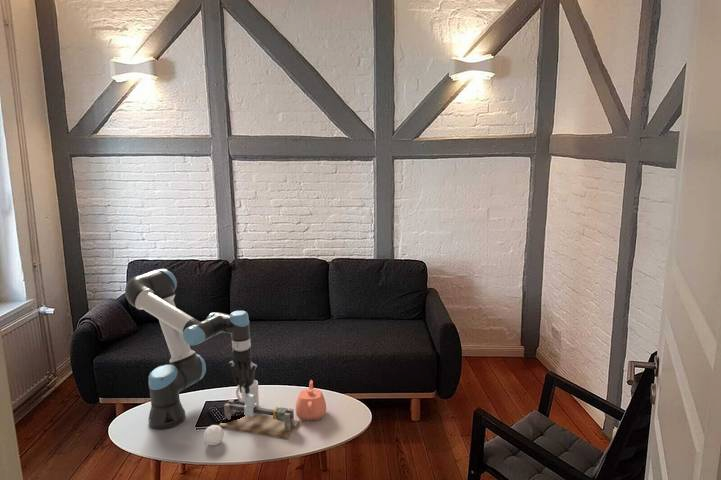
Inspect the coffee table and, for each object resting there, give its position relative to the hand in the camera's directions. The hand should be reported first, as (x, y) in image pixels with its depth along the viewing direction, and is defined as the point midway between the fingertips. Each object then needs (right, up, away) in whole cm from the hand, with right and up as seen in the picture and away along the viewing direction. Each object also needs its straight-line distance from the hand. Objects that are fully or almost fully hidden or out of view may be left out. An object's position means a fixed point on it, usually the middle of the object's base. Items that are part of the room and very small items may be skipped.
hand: (245, 399), depth 224 cm
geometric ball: (-10, -14, -11) cm, 21 cm away
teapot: (+27, -9, +9) cm, 30 cm away
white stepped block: (+2, -6, +1) cm, 7 cm away
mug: (-2, -8, +15) cm, 18 cm away
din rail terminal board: (+6, -11, +1) cm, 13 cm away
